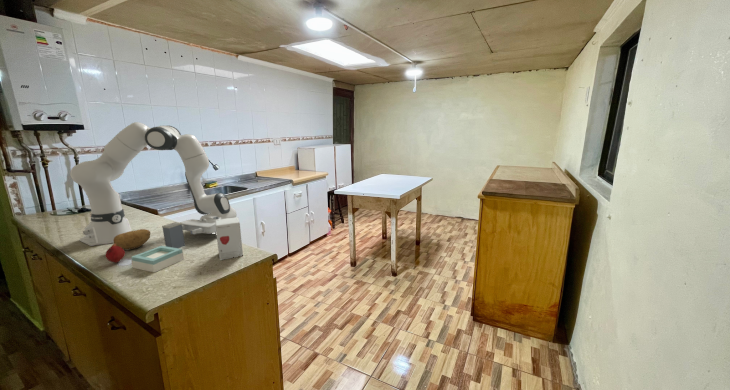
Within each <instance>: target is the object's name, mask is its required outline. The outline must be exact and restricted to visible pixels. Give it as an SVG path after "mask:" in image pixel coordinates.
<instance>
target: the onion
mask: <svg viewBox="0 0 730 390" xmlns="http://www.w3.org/2000/svg"><path fill="white" fill-rule="evenodd" d="M125 255H126V251H125V249H123V248H121V247H119V246H116V244H114V243H112V244H111V246H110V247H109V248H107V250H106V252H105V258H106V260H107V261H109V262H111V263H116V264H118V263H119V262H121V260H122V259H123V258H124V257H125Z"/></svg>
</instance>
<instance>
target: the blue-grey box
mask: <svg viewBox="0 0 730 390" xmlns="http://www.w3.org/2000/svg"><path fill="white" fill-rule="evenodd" d="M161 227H162V233H163V238H164V244H165V245H164V246H166V247H172V248H178V249H182V248H183V247H185V246H186V244H185V238H184V237H185V236H184V230H183V229H182V223H180V221H179V222H178V221H173V222H170V223H168V224H165V225H162V226H161Z"/></svg>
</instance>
